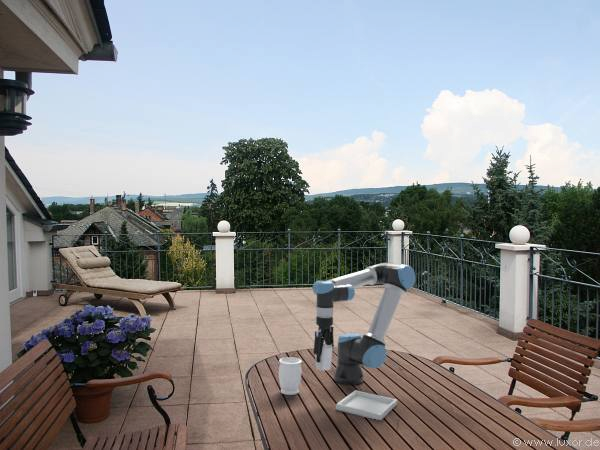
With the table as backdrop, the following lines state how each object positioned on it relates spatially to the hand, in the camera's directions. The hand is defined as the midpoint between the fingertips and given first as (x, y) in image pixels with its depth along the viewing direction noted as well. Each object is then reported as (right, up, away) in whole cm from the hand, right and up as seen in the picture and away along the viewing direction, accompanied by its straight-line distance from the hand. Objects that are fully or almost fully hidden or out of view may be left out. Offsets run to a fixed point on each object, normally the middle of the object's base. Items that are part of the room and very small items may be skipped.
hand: (323, 366), depth 213 cm
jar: (-15, -15, +8) cm, 23 cm away
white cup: (0, -1, 0) cm, 1 cm away
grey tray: (+19, -15, -8) cm, 25 cm away
